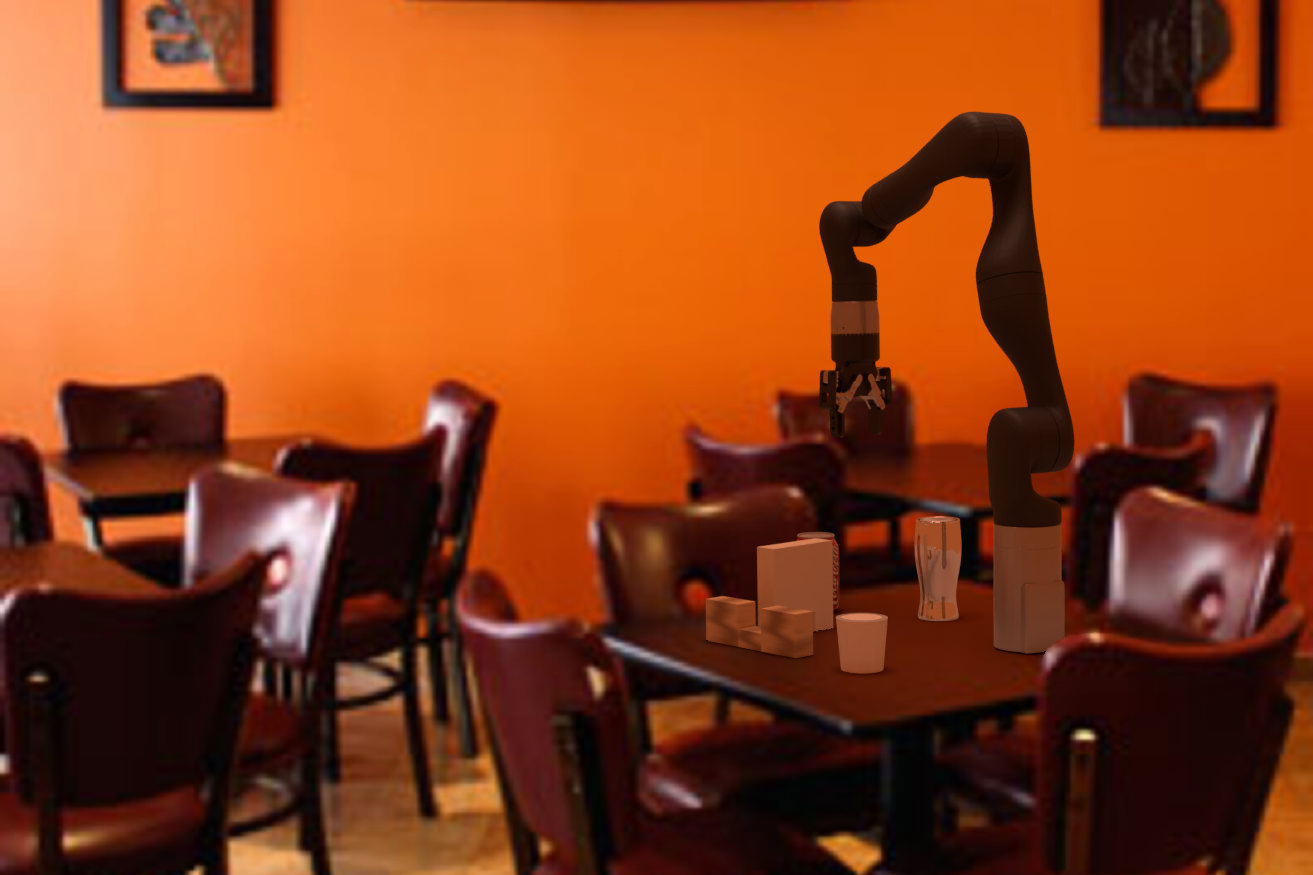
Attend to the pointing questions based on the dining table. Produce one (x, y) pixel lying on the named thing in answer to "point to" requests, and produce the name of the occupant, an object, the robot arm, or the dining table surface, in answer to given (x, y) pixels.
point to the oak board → (776, 635)
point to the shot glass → (862, 642)
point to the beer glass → (938, 566)
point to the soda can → (835, 559)
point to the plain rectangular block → (797, 578)
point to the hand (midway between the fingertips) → (856, 435)
